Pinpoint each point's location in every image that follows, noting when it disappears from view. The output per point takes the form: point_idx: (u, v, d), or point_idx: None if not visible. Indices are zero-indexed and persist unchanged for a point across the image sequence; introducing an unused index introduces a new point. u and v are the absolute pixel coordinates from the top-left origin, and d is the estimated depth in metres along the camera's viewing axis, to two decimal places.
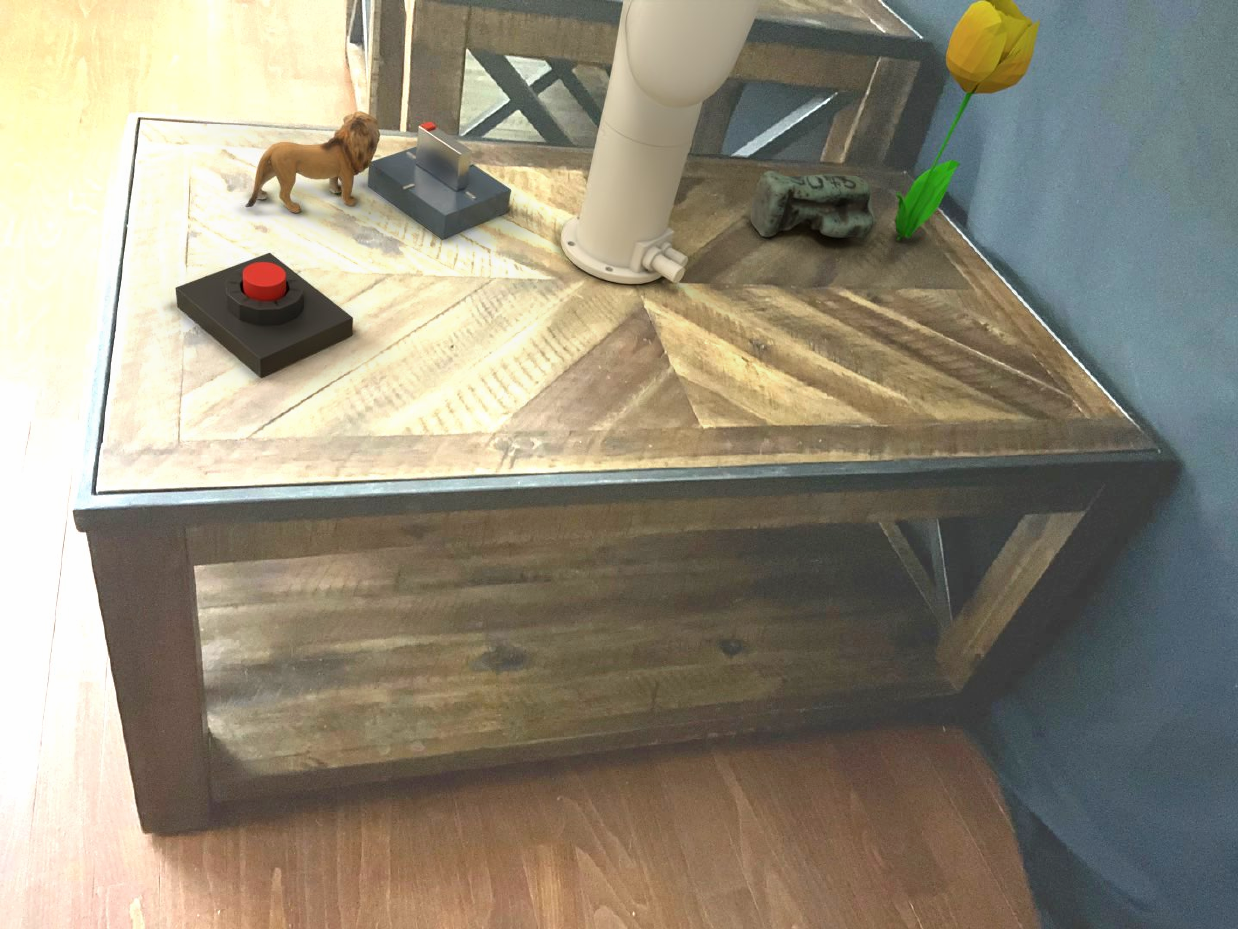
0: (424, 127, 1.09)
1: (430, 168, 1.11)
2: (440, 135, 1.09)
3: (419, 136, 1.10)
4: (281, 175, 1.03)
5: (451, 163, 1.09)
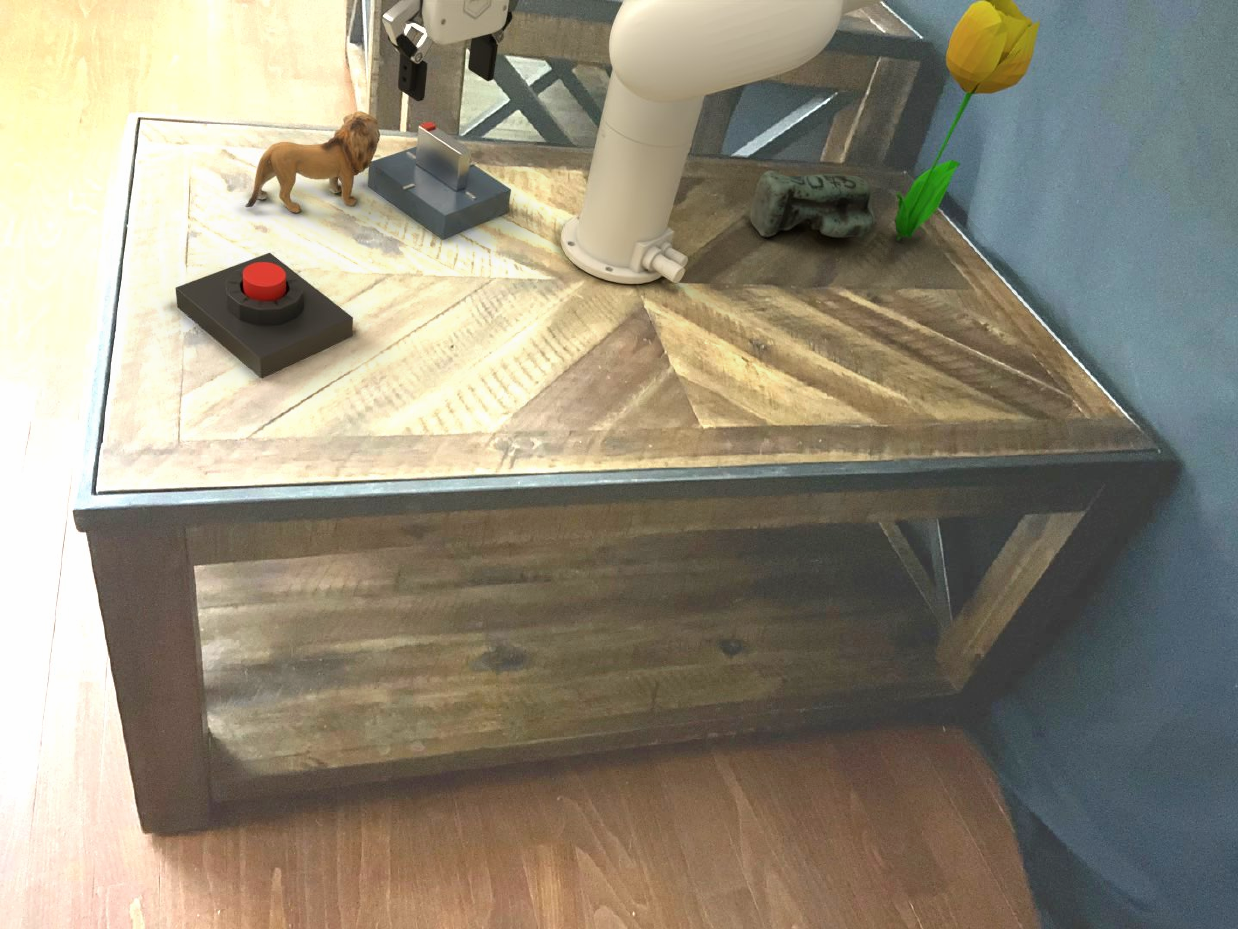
0: (424, 127, 1.09)
1: (430, 168, 1.11)
2: (440, 135, 1.09)
3: (419, 136, 1.10)
4: (281, 175, 1.03)
5: (451, 163, 1.09)
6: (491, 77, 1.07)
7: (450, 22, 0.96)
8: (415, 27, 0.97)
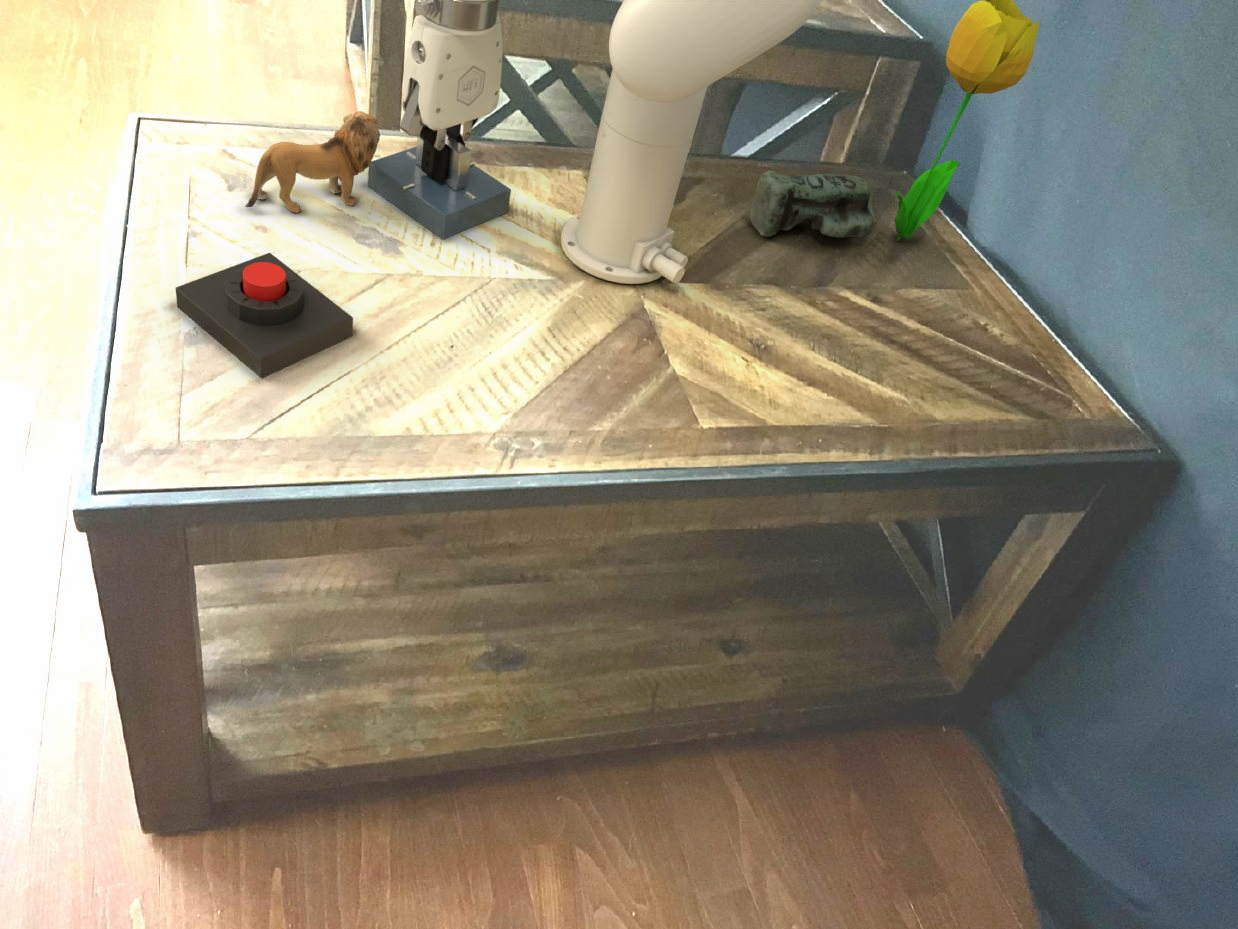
0: None
1: None
2: None
3: None
4: (281, 175, 1.03)
5: (451, 163, 1.09)
6: None
7: (444, 110, 1.02)
8: None
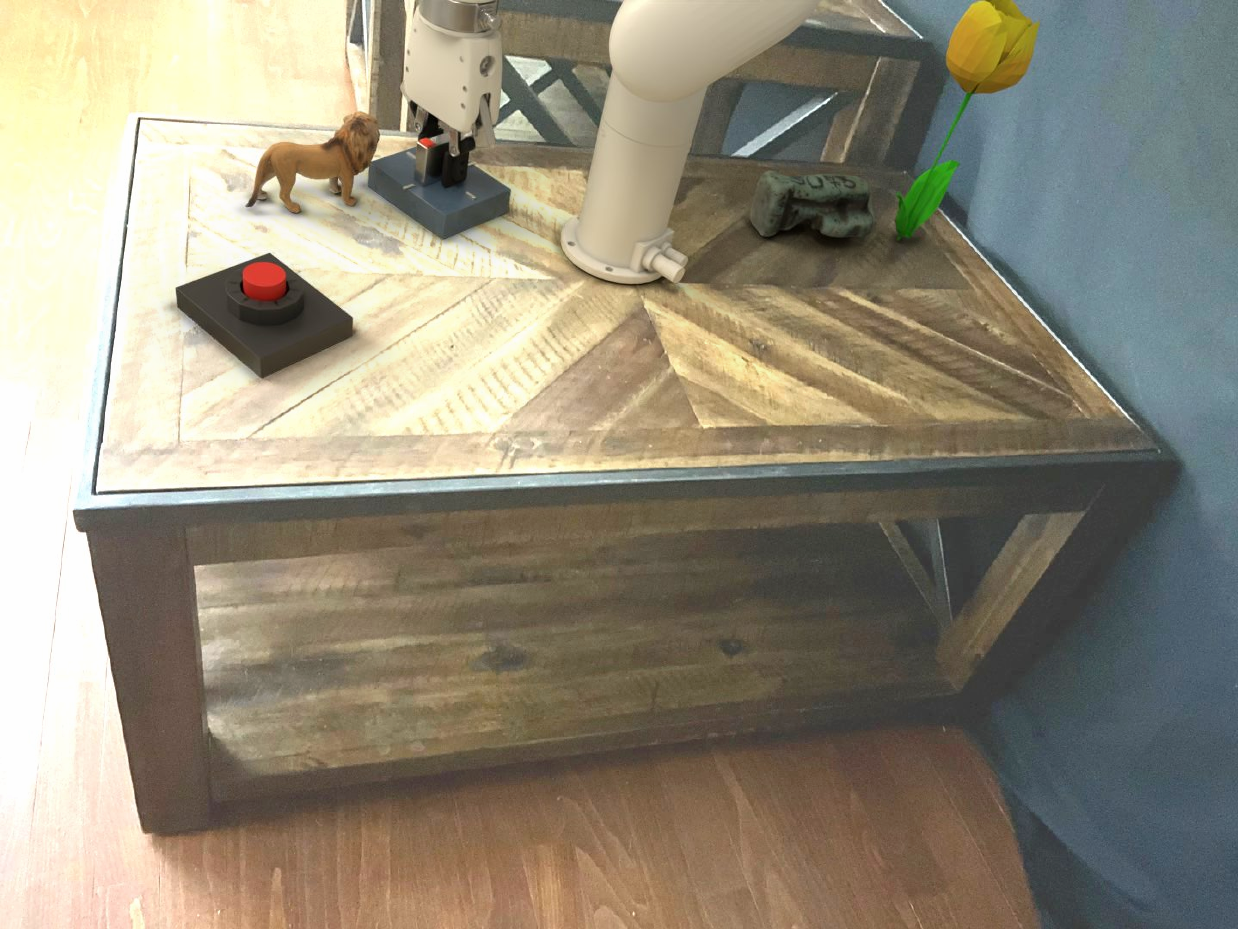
0: (431, 145, 1.07)
1: (440, 175, 1.10)
2: (442, 139, 1.08)
3: (428, 157, 1.07)
4: (281, 175, 1.03)
5: None
6: None
7: None
8: None
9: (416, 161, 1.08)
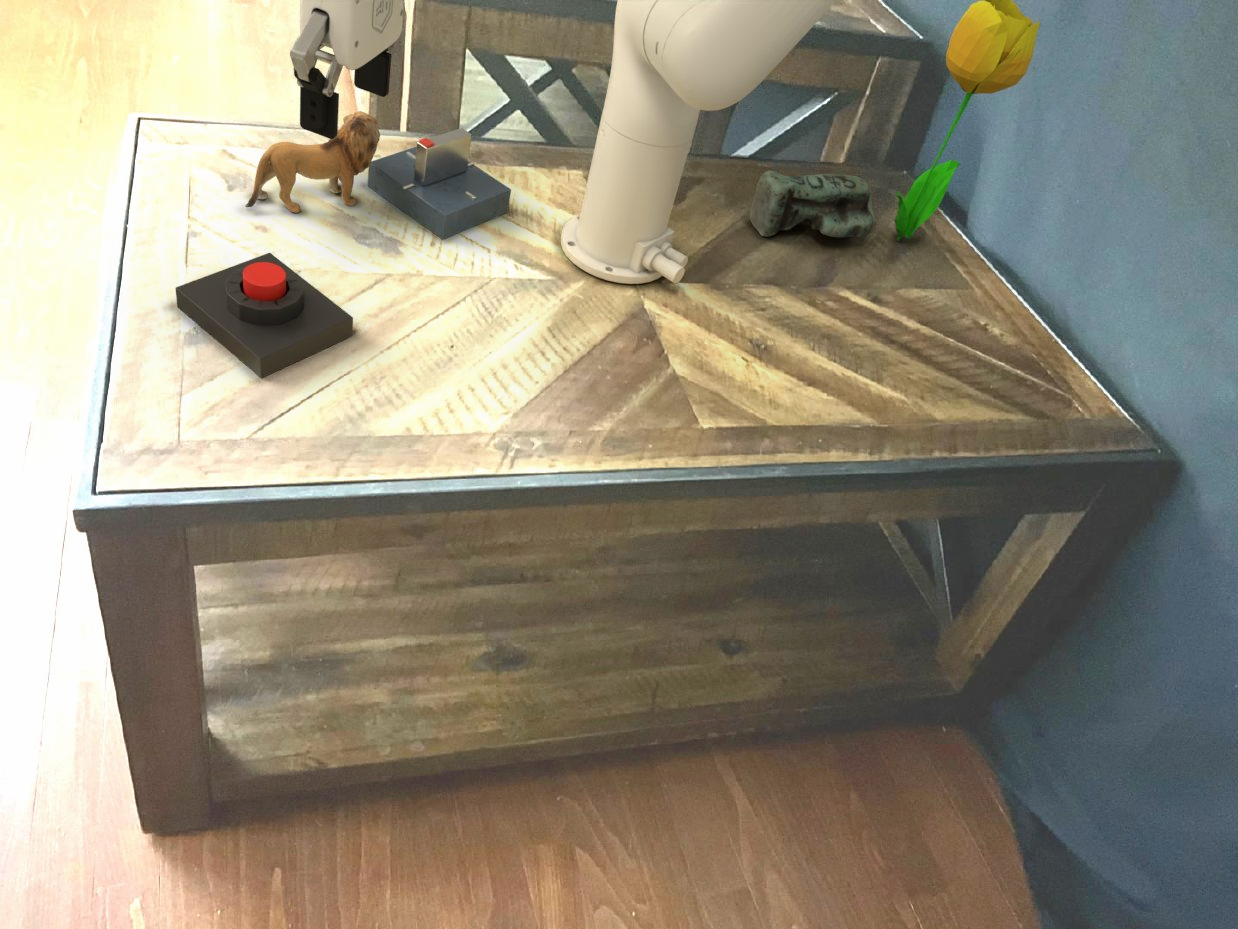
0: (431, 145, 1.07)
1: (440, 175, 1.10)
2: (442, 139, 1.08)
3: (428, 157, 1.07)
4: (281, 175, 1.03)
5: (462, 151, 1.11)
6: (387, 91, 0.93)
7: (362, 42, 0.82)
8: (318, 55, 0.82)
9: (416, 161, 1.08)
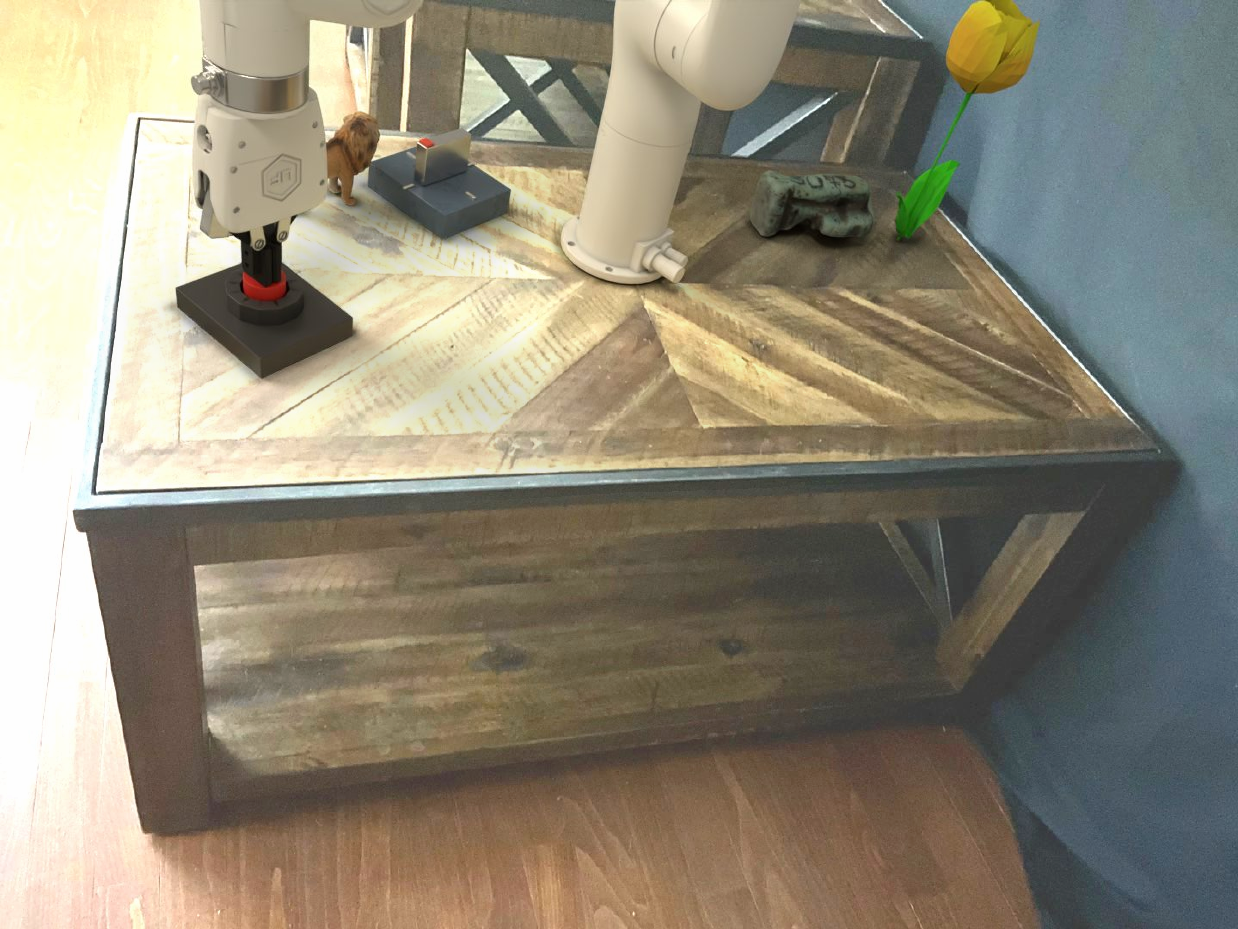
0: (431, 145, 1.07)
1: (440, 175, 1.10)
2: (442, 139, 1.08)
3: (428, 157, 1.07)
4: None
5: (462, 151, 1.11)
6: (278, 279, 0.89)
7: (246, 209, 0.80)
8: None
9: (416, 161, 1.08)
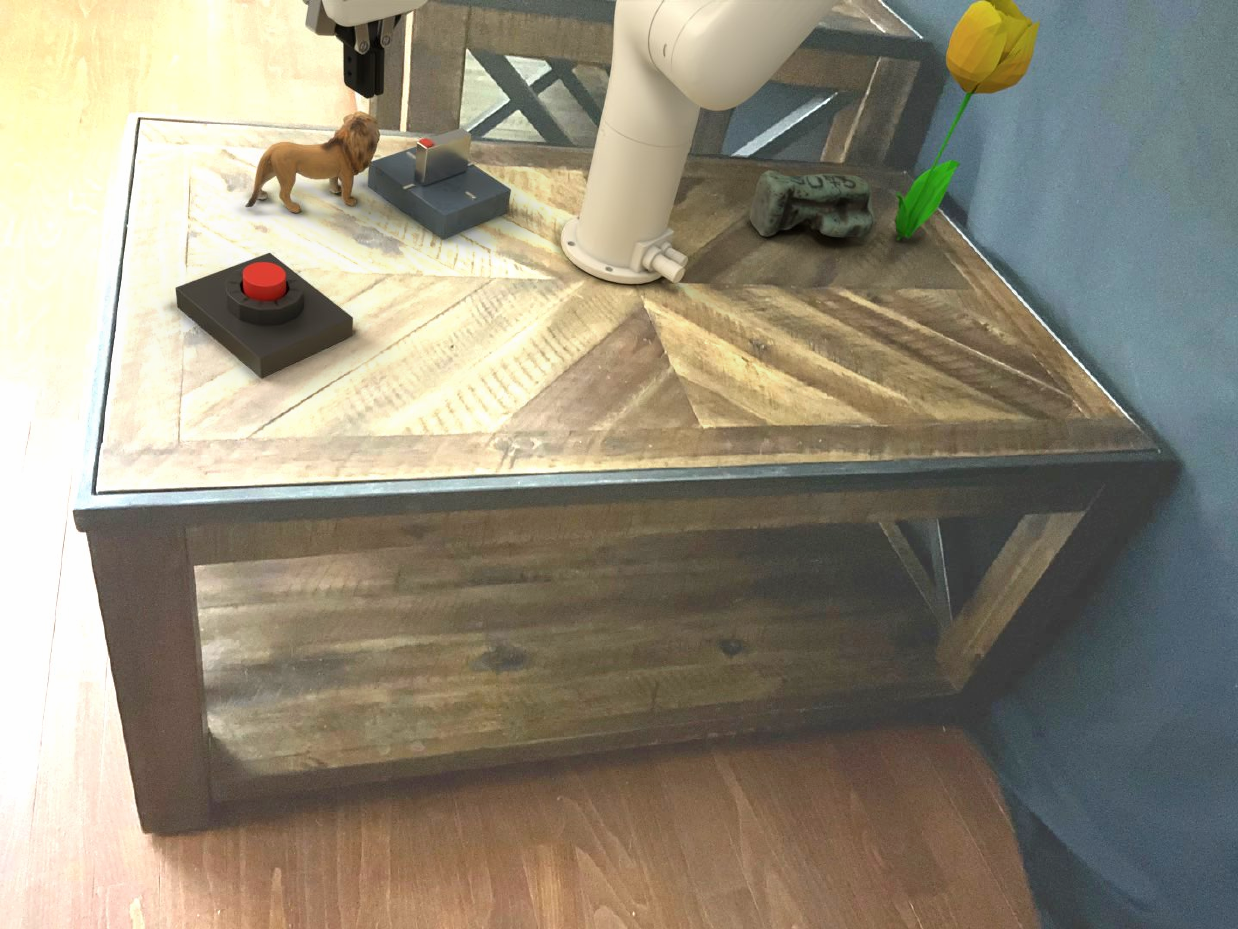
0: (431, 145, 1.07)
1: (440, 175, 1.10)
2: (442, 139, 1.08)
3: (428, 157, 1.07)
4: (281, 175, 1.03)
5: (462, 151, 1.11)
6: (381, 90, 0.86)
7: None
8: None
9: (416, 161, 1.08)
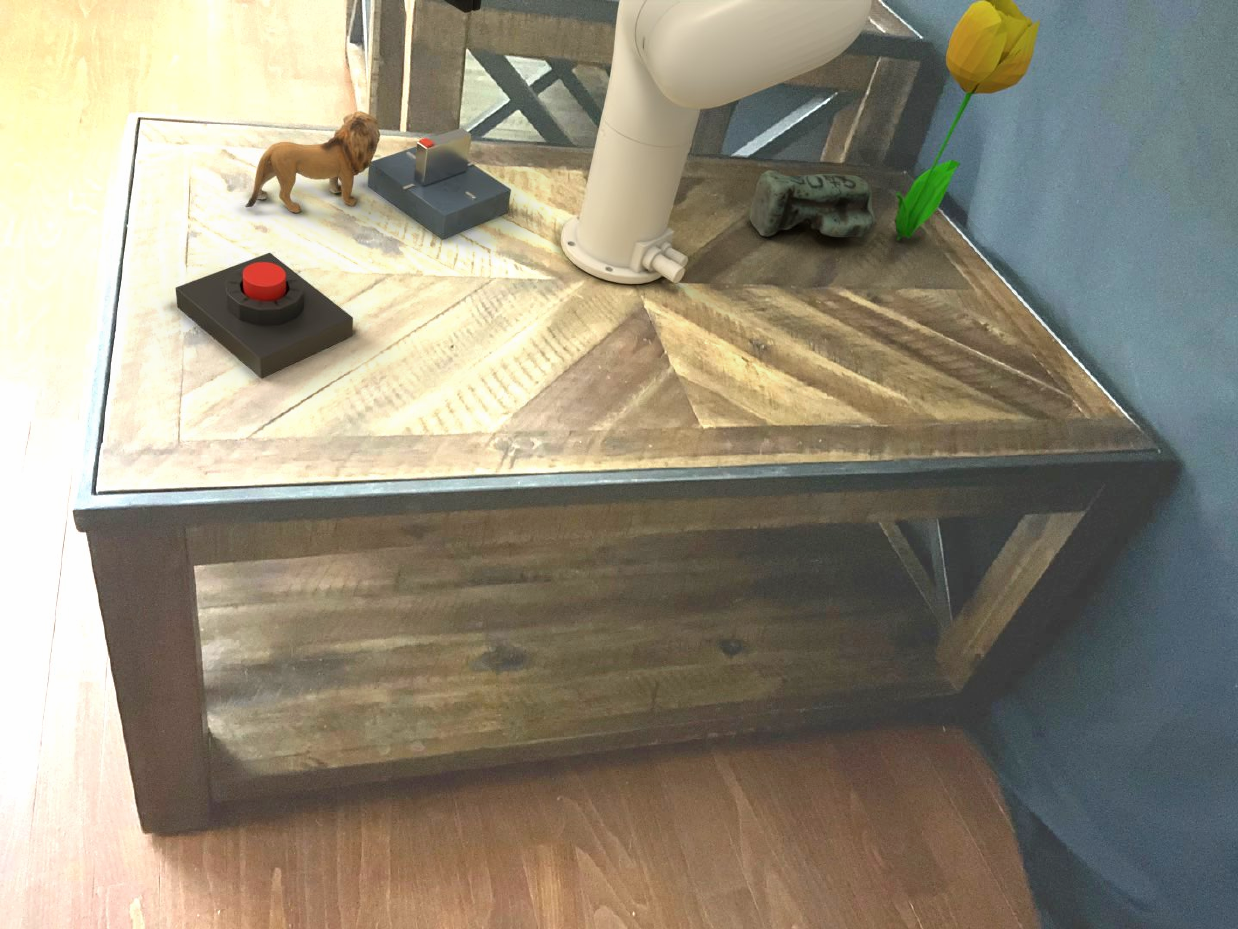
0: (431, 145, 1.07)
1: (440, 175, 1.10)
2: (442, 139, 1.08)
3: (428, 157, 1.07)
4: (281, 175, 1.03)
5: (462, 151, 1.11)
6: (478, 6, 0.90)
7: None
8: None
9: (416, 161, 1.08)
